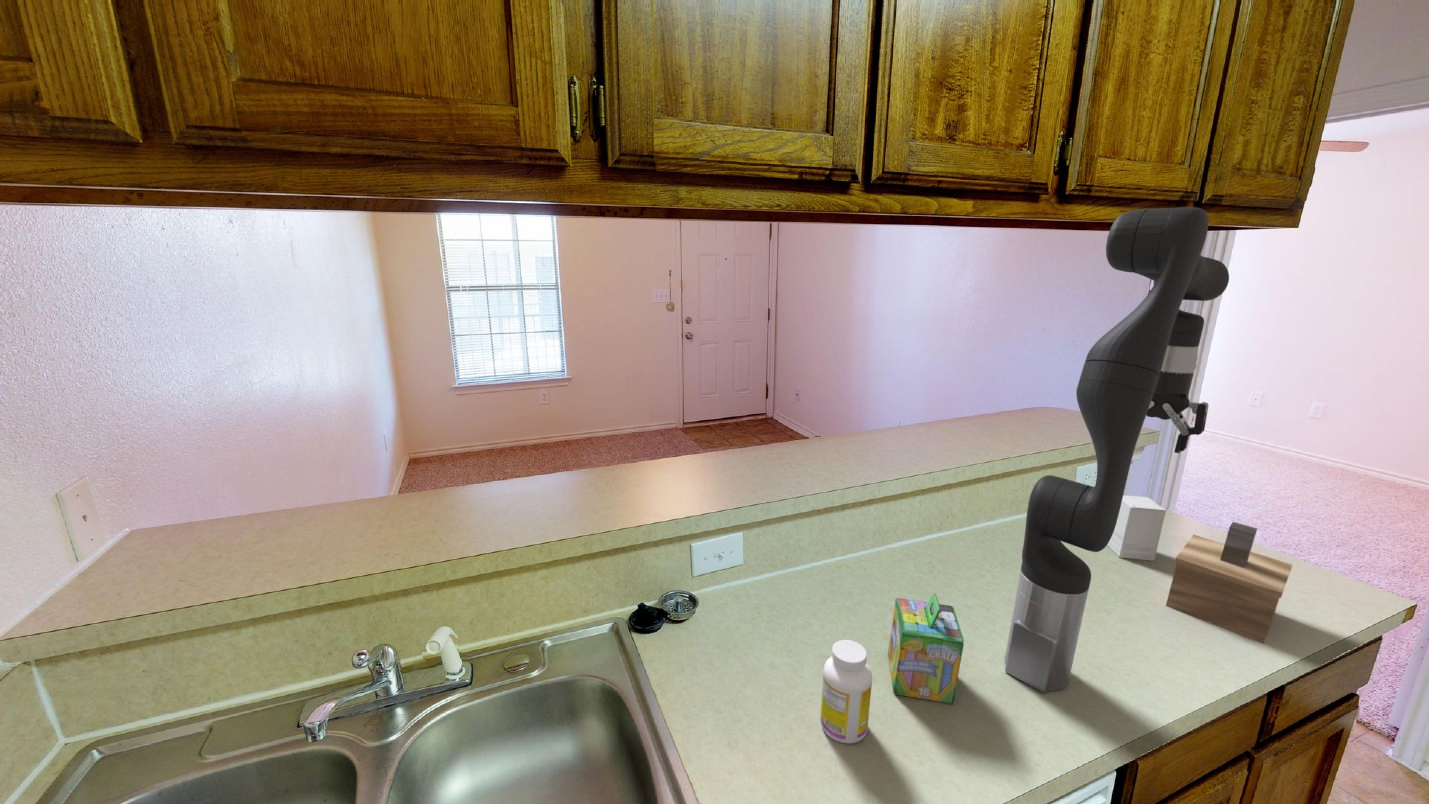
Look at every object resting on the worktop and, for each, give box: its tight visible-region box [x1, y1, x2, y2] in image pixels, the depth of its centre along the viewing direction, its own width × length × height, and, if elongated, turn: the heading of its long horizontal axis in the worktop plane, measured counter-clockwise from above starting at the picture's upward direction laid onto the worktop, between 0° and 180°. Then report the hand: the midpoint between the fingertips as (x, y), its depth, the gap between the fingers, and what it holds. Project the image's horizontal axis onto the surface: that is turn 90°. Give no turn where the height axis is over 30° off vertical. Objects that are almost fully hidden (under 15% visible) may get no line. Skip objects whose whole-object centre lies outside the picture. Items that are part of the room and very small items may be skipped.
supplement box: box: [1107, 494, 1167, 562], centre depth 127 cm, size 7×7×13 cm
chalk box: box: [887, 592, 965, 705], centre depth 87 cm, size 9×9×15 cm
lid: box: [1174, 521, 1293, 599], centre depth 104 cm, size 15×15×8 cm
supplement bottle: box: [820, 639, 873, 744], centre depth 78 cm, size 7×7×13 cm
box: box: [1165, 563, 1280, 644], centre depth 106 cm, size 14×14×10 cm
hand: (1151, 446), depth 111 cm, fingers open, 8 cm apart
